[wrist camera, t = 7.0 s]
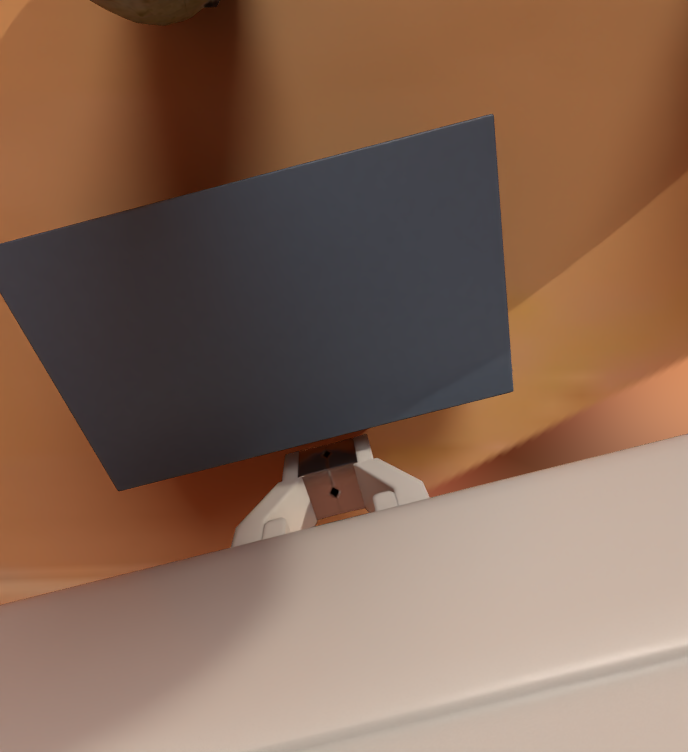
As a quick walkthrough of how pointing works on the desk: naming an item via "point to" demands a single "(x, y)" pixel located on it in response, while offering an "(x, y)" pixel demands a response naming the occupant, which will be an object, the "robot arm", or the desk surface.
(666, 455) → the robot arm
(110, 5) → the mushroom
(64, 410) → the desk surface
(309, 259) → the block
